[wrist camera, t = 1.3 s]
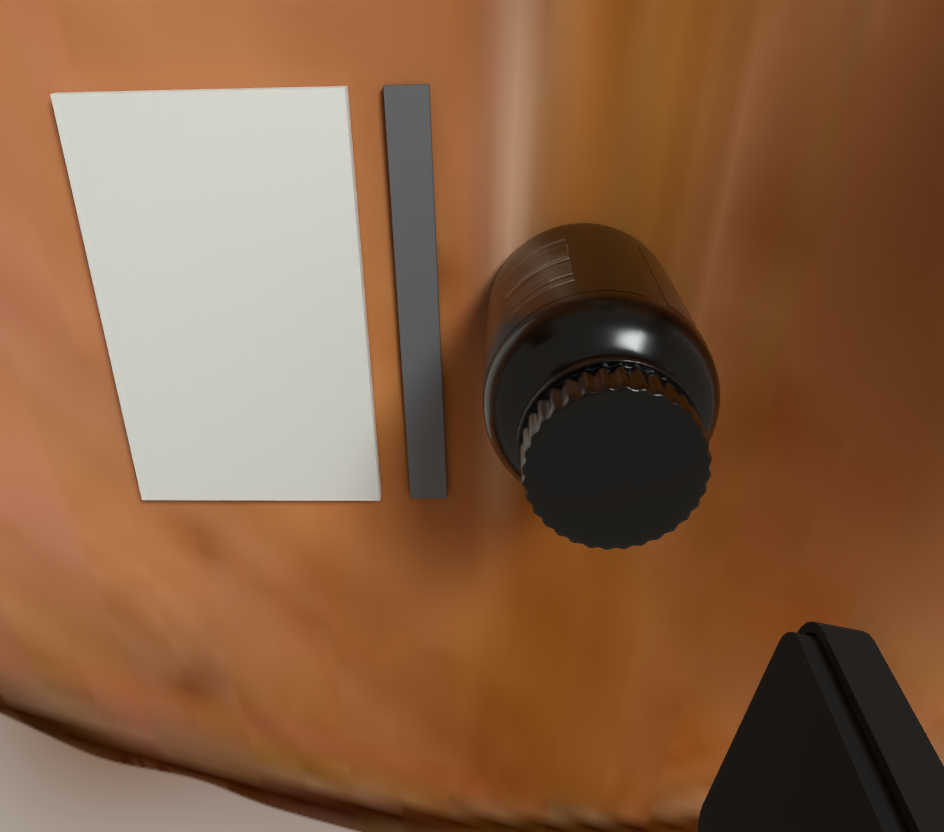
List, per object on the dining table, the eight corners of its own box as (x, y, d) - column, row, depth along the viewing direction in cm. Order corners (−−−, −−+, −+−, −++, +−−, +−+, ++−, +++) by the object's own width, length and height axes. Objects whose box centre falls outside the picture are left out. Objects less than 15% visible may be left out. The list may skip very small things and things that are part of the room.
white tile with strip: (429, 84, 29) (427, 85, 29) (447, 494, 36) (446, 500, 36) (57, 92, 30) (50, 94, 29) (146, 493, 37) (141, 500, 36)
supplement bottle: (497, 400, 34) (489, 591, 23) (477, 229, 31) (457, 358, 20) (675, 385, 34) (749, 574, 23) (672, 208, 31) (757, 330, 20)
